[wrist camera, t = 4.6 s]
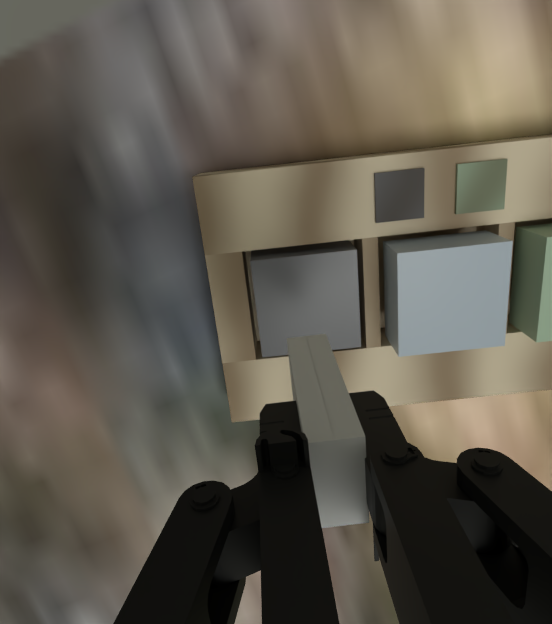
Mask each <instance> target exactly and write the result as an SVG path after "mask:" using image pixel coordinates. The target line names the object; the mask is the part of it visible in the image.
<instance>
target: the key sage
mask: <svg viewBox="0 0 552 624" xmlns="http://www.w3.org/2000/svg"><path fill="white" fill-rule="evenodd" d="M509 323H511V324H512V325H513V326H515V327H516V328H517V329H519V330H520V331H521V332H523V333H524V334H525V335H527V336H528V337H530V338H531V339H532V340H534V341H535V342H536V343H537V342H546V341H552V223H548V224H539V225H530V226H521V227H516V237H515V250H514V263H513V276H512V289H511V301H510V314H509Z"/></svg>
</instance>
